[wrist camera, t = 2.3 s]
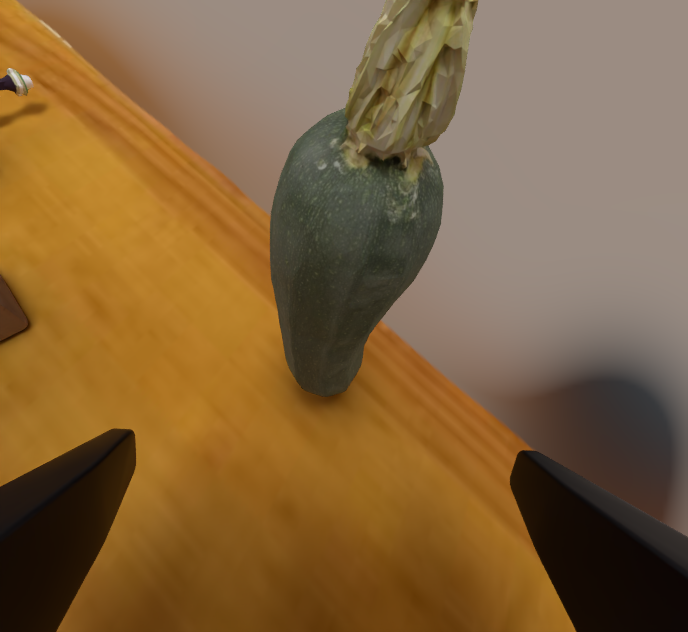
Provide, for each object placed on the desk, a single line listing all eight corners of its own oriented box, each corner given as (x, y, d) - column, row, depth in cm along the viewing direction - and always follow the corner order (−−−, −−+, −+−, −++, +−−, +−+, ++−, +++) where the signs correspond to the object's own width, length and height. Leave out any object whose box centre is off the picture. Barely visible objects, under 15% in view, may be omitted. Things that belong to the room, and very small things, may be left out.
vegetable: (317, 433, 21) (553, -19, 3) (257, 384, 21) (157, -217, 4) (363, 372, 23) (667, -115, 5) (306, 329, 23) (396, -233, 6)
